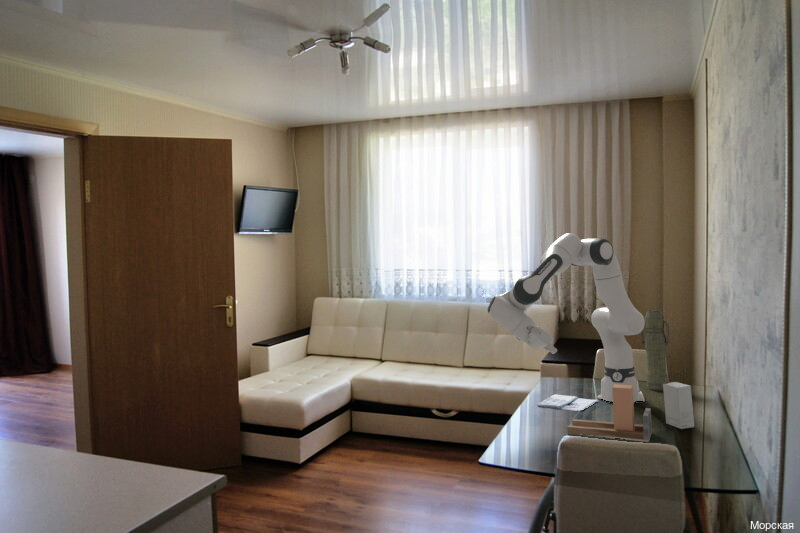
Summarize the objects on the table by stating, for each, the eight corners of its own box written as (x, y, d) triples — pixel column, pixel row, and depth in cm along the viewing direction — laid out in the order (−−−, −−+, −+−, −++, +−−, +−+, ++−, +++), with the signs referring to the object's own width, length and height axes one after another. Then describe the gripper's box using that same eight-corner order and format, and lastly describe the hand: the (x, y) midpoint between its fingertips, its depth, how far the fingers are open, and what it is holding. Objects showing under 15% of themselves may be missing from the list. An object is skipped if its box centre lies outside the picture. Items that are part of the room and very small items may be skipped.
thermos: (671, 391, 260) (668, 311, 259) (642, 389, 265) (639, 311, 265) (672, 386, 268) (669, 309, 267) (644, 385, 273) (641, 309, 272)
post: (616, 429, 209) (614, 384, 209) (634, 431, 206) (632, 385, 206) (614, 433, 205) (612, 387, 204) (633, 435, 202) (630, 388, 201)
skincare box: (694, 427, 209) (693, 385, 209) (679, 429, 208) (678, 387, 208) (678, 421, 217) (676, 380, 217) (664, 423, 216) (662, 382, 216)
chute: (573, 426, 219) (572, 402, 218) (651, 433, 206) (650, 408, 206) (567, 434, 210) (566, 409, 210) (648, 441, 197) (647, 416, 197)
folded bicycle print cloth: (555, 397, 263) (555, 392, 263) (600, 403, 250) (600, 398, 250) (536, 407, 248) (535, 402, 248) (582, 414, 235) (582, 408, 235)
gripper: (535, 318, 212) (567, 342, 210) (525, 325, 232) (554, 348, 230) (525, 332, 211) (557, 356, 209) (515, 338, 231) (544, 361, 229)
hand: (555, 352), depth 220 cm, fingers closed
